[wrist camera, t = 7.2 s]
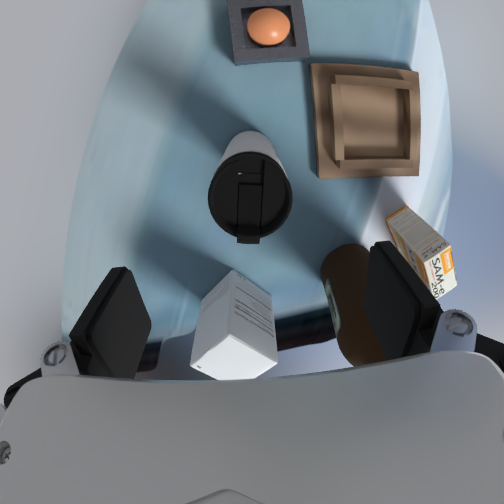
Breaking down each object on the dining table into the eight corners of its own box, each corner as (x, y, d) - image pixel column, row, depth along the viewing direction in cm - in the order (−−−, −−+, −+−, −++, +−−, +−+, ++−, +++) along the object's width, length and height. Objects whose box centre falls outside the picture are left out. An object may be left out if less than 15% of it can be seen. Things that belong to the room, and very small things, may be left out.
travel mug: (226, 176, 39) (206, 244, 22) (227, 129, 36) (205, 157, 19) (271, 178, 39) (289, 247, 22) (274, 131, 36) (298, 161, 19)
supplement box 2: (383, 219, 42) (422, 262, 31) (407, 204, 41) (451, 243, 30) (398, 255, 46) (433, 302, 34) (420, 242, 44) (459, 285, 33)
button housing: (228, 8, 27) (226, -1, 24) (296, 3, 27) (301, -5, 24) (235, 65, 31) (234, 62, 28) (304, 61, 31) (310, 57, 28)
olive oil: (367, 229, 43) (446, 345, 22) (381, 278, 48) (441, 391, 26) (307, 256, 46) (346, 391, 24) (328, 301, 50) (364, 425, 29)
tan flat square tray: (308, 64, 31) (314, 61, 28) (413, 72, 30) (425, 71, 27) (317, 176, 39) (322, 183, 36) (414, 173, 38) (425, 179, 35)
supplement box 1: (239, 324, 53) (237, 391, 40) (200, 299, 50) (186, 366, 37) (273, 296, 50) (280, 364, 36) (233, 267, 47) (227, 334, 34)
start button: (245, 15, 27) (244, 9, 24) (284, 13, 27) (287, 7, 24) (249, 48, 29) (249, 44, 27) (289, 46, 29) (292, 42, 27)
